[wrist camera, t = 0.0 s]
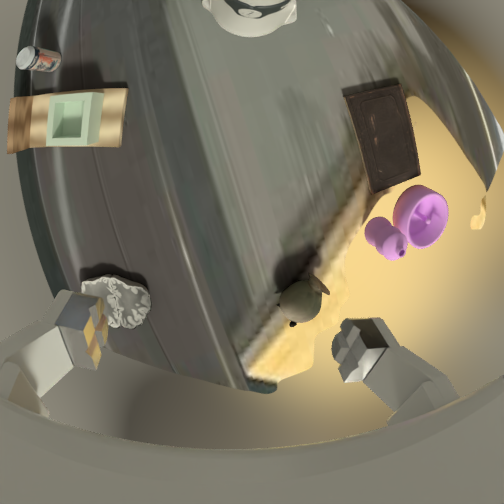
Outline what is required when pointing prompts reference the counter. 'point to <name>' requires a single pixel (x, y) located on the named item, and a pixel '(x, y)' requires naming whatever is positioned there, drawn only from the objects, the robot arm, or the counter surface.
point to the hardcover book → (384, 136)
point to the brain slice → (120, 299)
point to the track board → (36, 116)
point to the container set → (409, 223)
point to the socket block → (74, 119)
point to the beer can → (38, 59)
